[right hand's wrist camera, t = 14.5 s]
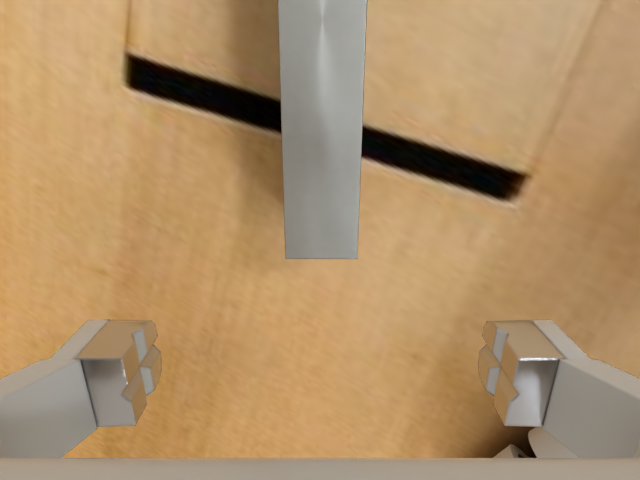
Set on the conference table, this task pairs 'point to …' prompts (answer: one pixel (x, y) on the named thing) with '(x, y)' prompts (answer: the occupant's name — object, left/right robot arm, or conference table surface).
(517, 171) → the conference table surface
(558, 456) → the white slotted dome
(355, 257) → the bar
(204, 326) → the conference table surface
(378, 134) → the conference table surface
